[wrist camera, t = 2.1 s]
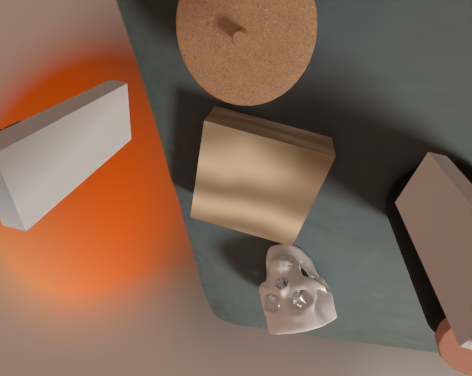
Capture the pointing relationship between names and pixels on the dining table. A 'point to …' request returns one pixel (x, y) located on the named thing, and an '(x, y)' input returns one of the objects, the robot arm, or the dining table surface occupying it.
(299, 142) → the beech block
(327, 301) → the skull bowl
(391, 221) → the coffee jar
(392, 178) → the dining table surface
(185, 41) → the lidded jar
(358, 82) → the dining table surface
